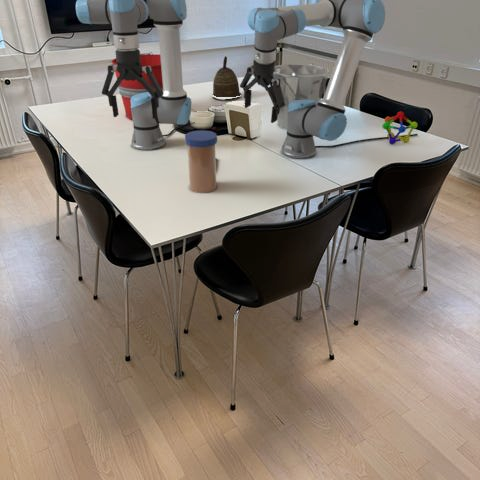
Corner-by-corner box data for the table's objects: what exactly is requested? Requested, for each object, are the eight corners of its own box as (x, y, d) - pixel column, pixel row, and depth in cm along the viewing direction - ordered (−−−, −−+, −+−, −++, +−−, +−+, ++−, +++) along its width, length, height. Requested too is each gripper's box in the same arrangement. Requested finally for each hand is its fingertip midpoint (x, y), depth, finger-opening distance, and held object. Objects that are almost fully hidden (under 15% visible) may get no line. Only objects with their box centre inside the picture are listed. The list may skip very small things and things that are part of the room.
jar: (186, 183, 171) (183, 133, 160) (211, 180, 174) (210, 130, 163) (194, 194, 163) (191, 142, 152) (219, 190, 166) (218, 139, 155)
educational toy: (377, 146, 209) (379, 114, 202) (384, 138, 219) (386, 107, 211) (411, 149, 202) (415, 116, 195) (417, 141, 212) (420, 109, 204)
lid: (181, 138, 162) (181, 132, 160) (211, 135, 165) (211, 128, 164) (190, 149, 153) (189, 142, 151) (221, 145, 156) (221, 138, 155)
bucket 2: (296, 138, 215) (301, 78, 201) (255, 124, 234) (256, 68, 219) (335, 125, 232) (342, 70, 217) (294, 113, 251) (297, 61, 236)
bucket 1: (125, 105, 263) (118, 51, 247) (184, 106, 262) (180, 52, 246) (109, 123, 234) (99, 63, 218) (175, 124, 233) (170, 64, 217)
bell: (227, 105, 294) (202, 96, 282) (238, 66, 289) (213, 55, 277) (243, 108, 280) (217, 98, 268) (255, 66, 275) (229, 55, 263)
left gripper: (84, 50, 136) (95, 118, 148) (163, 52, 134) (168, 121, 145) (93, 46, 143) (104, 112, 154) (169, 48, 140) (174, 114, 152)
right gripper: (231, 50, 155) (230, 104, 171) (284, 77, 144) (278, 132, 160) (245, 44, 159) (243, 97, 175) (299, 69, 148) (292, 123, 164)
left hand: (135, 116), depth 150 cm, fingers open, 13 cm apart
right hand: (260, 113), depth 168 cm, fingers open, 13 cm apart
